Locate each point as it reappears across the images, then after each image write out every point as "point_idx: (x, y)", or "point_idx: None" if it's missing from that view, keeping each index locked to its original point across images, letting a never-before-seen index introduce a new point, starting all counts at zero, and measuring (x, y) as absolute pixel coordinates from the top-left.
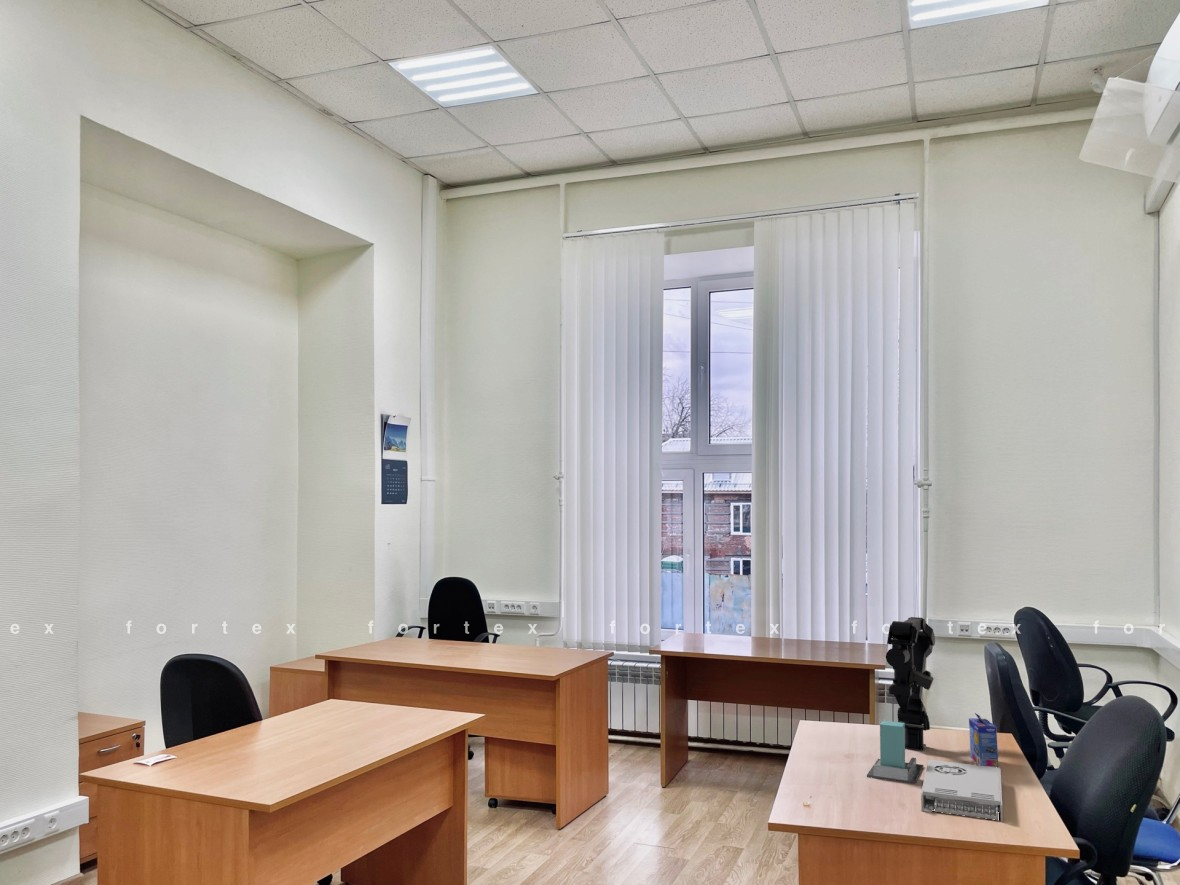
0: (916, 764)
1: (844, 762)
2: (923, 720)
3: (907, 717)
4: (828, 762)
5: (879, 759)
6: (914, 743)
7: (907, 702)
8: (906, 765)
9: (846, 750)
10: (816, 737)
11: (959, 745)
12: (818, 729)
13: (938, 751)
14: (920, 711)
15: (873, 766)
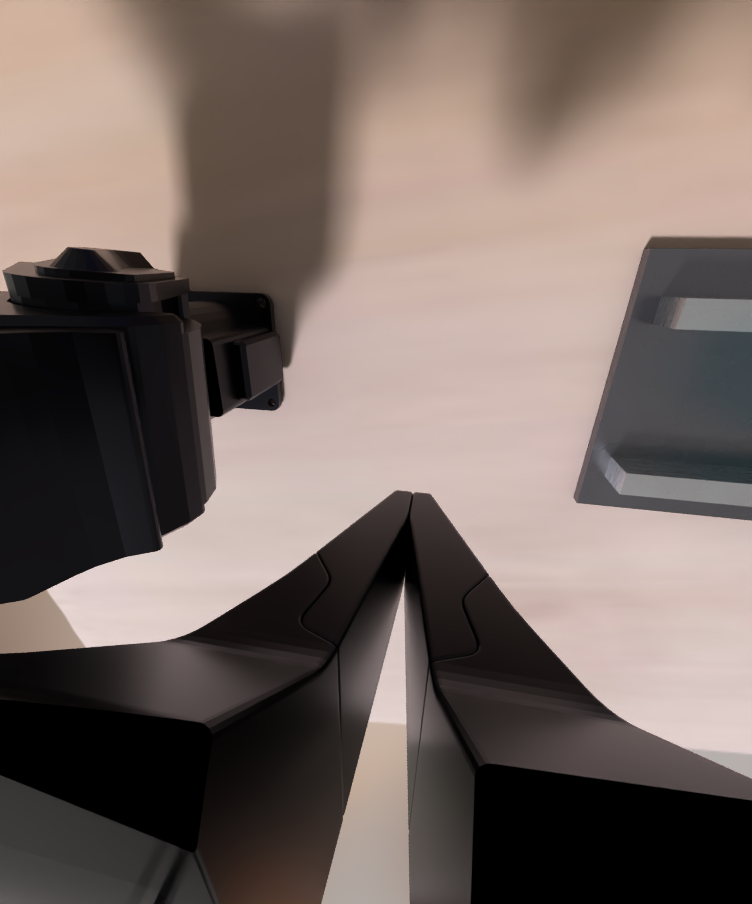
0: (650, 295)
1: (645, 618)
2: (160, 295)
3: (203, 445)
4: (661, 666)
5: (589, 496)
6: (270, 349)
7: (509, 602)
8: (691, 354)
9: None
10: None
11: (5, 77)
12: None
13: (226, 201)
14: (122, 332)
15: (748, 516)
